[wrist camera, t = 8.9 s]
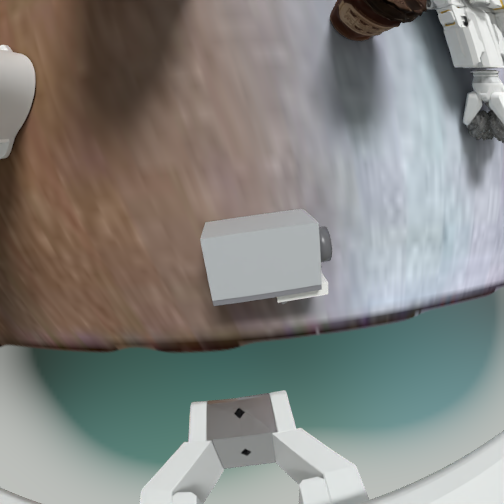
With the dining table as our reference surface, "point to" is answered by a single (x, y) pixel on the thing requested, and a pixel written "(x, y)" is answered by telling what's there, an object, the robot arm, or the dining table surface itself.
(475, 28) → the spaceship
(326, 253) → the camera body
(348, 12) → the coffee cup
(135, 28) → the dining table surface
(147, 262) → the dining table surface
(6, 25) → the dining table surface
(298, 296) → the side door
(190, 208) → the dining table surface
